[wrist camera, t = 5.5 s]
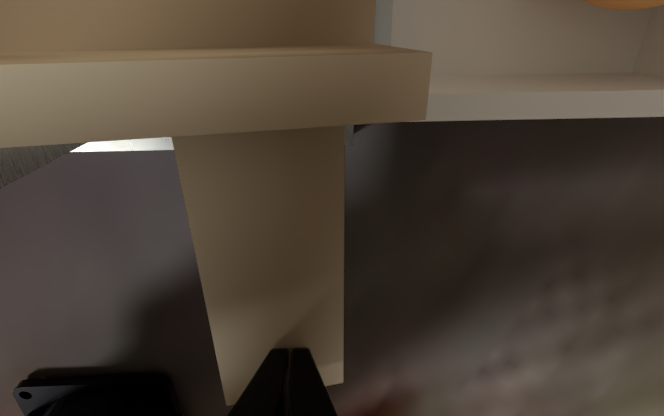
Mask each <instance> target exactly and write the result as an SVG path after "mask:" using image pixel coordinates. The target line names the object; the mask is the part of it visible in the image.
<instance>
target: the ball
mask: <svg viewBox="0 0 664 416" xmlns="http://www.w3.org/2000/svg"><path fill="white" fill-rule="evenodd" d="M584 1H586V2H588V3H590V4H593V5H595V6H598V7H602V8H607V9H613V10H640V9H646V8H651V7H656V6H661V5H664V0H584Z"/></svg>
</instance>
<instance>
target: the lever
mask: <svg viewBox="0 0 664 416" xmlns="http://www.w3.org/2000/svg"><path fill="white" fill-rule="evenodd" d="M374 25H375V0H0V148H10V147H25V146H40V145H55V144H71V143H86V142H101V141H116V140H131V139H147V138H162V137H172V142H173V147H174V152H175V157H176V162H177V167H178V171H179V176H180V181H181V186H182V191H183V196H184V201H185V206H186V211H187V216H188V221H189V225H190V230H191V235H192V240H193V245H194V250H195V255H196V260H197V265H198V270H199V274H200V279H201V284H202V289H203V294H204V299H205V304H206V309H207V314H208V319H209V323H210V328H211V333H212V338H213V343H214V348H215V353H216V358H217V363H218V368H219V372H220V377H221V382H222V387H223V392H224V397H225V402H226V406H230V405H235V403H236V402H237V400H238V399H239V397H240V396H241V394H242V392H243V391H244V389H245V388H246V386H247V385H248V383H249V382H250V380H251V379H252V377H253V376H254V374H255V373H256V371H257V370H258V368H259V366H260V365H261V363H262V362H263V360H264V359H265V357H266V356H267V354H268V353H269V351H270V350H271V349H273V348H286V349H288V351H289V361H291V353H292V349H293V348H304V347H307V348H309V349H310V351H311V354H312V356H313V359H314V361H315V363H316V366H317V368H318V371H319V373H320V375H321V378H322V380H323V383H324V385H325V386H329V385H334V384H339V383H343V369H344V179H345V125H360V124H375V123H390V122H406V121H421V120H426V113H427V103H428V93H429V83H430V73H431V63H432V53H433V52H426V51H420V50H413V49H407V48H400V47H394V46H387V45H381V44H374Z"/></svg>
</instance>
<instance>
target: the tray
mask: <svg viewBox="0 0 664 416" xmlns="http://www.w3.org/2000/svg"><path fill="white" fill-rule="evenodd" d="M374 44H381V45H387V46H394V47H400V48H407V49H413V50H420V51H426V52H433V53H432V63H431V73H430V83H429V93H428V103H427V113H426V120H421V121H406V122H422V121H473V120H523V119H574V118H625V117H664V5H661V6H656V7H651V8H646V9H640V10H613V9H607V8H602V7H598V6H595V5H593V4H590V3H588V2H586V1H584V0H375V25H374Z"/></svg>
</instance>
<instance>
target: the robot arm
mask: <svg viewBox="0 0 664 416" xmlns="http://www.w3.org/2000/svg"><path fill="white" fill-rule="evenodd" d="M13 396H14V398H15V400H16V401H17V403H18V405H19V406H20V408H21V410H22V412H23V413H24V415H25V416H183V414H182V413H181V411H180V408H179V405H178V401H177V398H176V394H175V391H174V387H173V384H172V381H171V379H170V378H169V377H167V376H165V375H163V374H145V375H121V376H96V377H71V378H46V379H26V380H23V381H21V382H20V383H19V384H18V386H17V387H16V388H15V389H14V391H13ZM227 416H337V414H336V411H335V409H334V407H333V404H332V402H331V399H330V397H329V395H328V392H327V390H326V387H325V385H324V383H323V380H322V378H321V375H320V373H319V371H318V368H317V366H316V363H315V361H314V359H313V356H312V354H311V351H310V349H309V348H307V347H304V348H293V349H292V353H291V361H289V351H288V349H286V348H273V349H271V350H270V351H269V353H268V354H267V356H266V357H265V359H264V360H263V362H262V363H261V365H260V366H259V368H258V370H257V371H256V373H255V374H254V376H253V377H252V379H251V380H250V382H249V383H248V385H247V386H246V388H245V389H244V391H243V392H242V394H241V396H240V397H239V399H238V400H237V402H236V403H235V405H234V406H233V408H232V409H231V411H230V412H229V414H228V415H227Z"/></svg>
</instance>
